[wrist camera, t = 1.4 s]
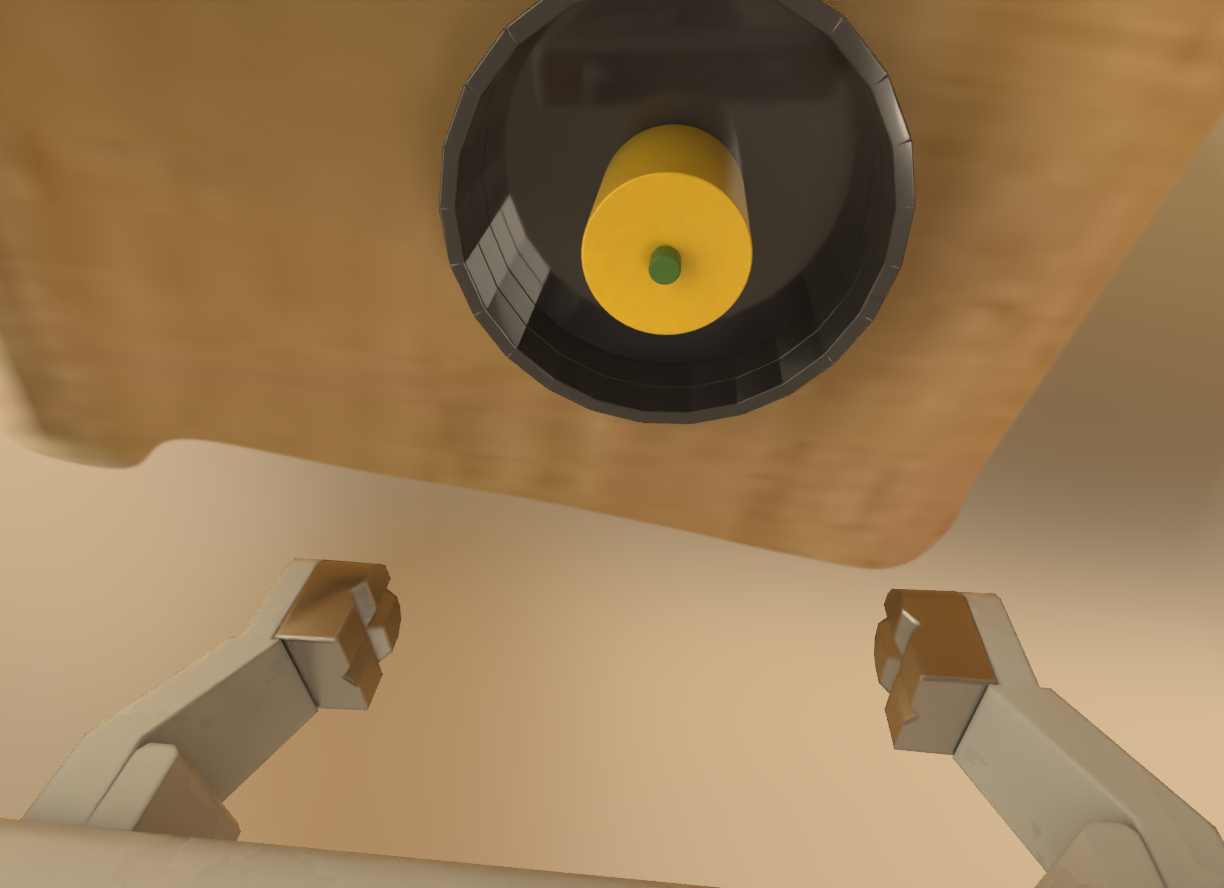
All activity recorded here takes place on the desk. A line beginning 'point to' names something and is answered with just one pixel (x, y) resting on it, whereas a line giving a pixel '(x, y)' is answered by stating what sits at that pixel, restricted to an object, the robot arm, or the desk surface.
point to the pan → (766, 155)
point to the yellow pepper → (669, 232)
